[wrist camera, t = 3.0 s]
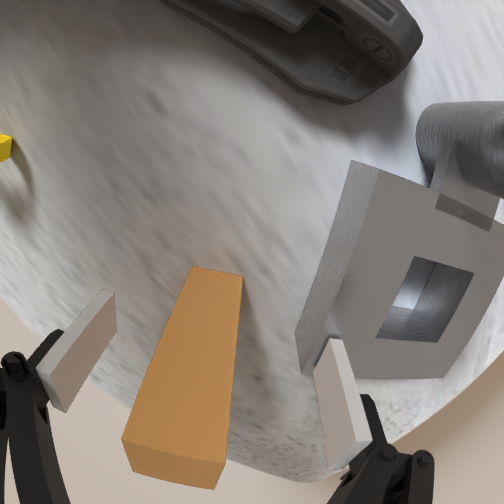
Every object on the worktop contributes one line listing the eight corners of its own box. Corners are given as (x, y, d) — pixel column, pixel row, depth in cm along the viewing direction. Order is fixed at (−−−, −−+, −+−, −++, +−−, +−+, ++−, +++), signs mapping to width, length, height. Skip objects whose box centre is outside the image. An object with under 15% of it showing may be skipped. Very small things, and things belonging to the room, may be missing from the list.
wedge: (192, 265, 17) (121, 438, 6) (243, 276, 18) (225, 463, 7) (187, 307, 19) (132, 471, 8) (233, 317, 19) (213, 490, 8)
